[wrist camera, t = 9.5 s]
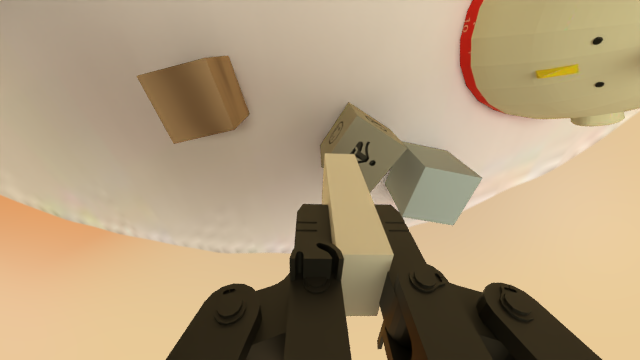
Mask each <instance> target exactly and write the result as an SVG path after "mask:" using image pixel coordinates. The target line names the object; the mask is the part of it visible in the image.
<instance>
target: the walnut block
mask: <svg viewBox="0 0 640 360" xmlns="http://www.w3.org/2000/svg"><path fill="white" fill-rule="evenodd" d="M137 78H138V80H139V81H140V83H141V85H142V87H143V89H144V91H145V92H146V94H147V96H148V98H149V100H150V101H151V103H152V105H153V107H154V109H155V111H156V112H157V114H158V116H159V118H160V120H161V121H162V123H163V125H164V127H165V129H166V130H167V132H168V134H169V136H170V138H171V140H172V141H173V143H174V144H175V143H179V142H184V141H188V140H192V139H197V138H201V137H205V136H210V135H214V134H218V133H222V132H227V131H231V130H235V129H236V128H237V126H238V125H239V124H240V123H241V122H242V121H243V120H244V119H245V118H246V117H247V116H248V115H249V111H248V108H247V106H246V103H245V100H244V97H243V95H242V92H241V89H240V86H239V84H238V81H237V78H236V75H235V73H234V70H233V67H232V64H231V62H230V59H229V56H220V57H209V58H203V59H199V60H195V61H191V62H188V63H184V64H180V65H176V66H172V67H169V68H165V69H161V70H157V71H153V72H150V73H146V74H142V75H138V76H137Z"/></svg>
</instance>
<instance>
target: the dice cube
mask: <svg viewBox="0 0 640 360" xmlns="http://www.w3.org/2000/svg"><path fill="white" fill-rule="evenodd" d="M406 149H407V147H406V146H405V145H404V144H403V143H402V142H401V141H400V140H399V139H398V138H397V136H396V135H395V134H394V133H393V132H392V131H391V130H390V129H388V128H387V127H385V126H384V125H382V124H381V123H379V122H378V121H376V120H375V119H373V118H372V117H370V116H369V115H367V114H366V113H364V112H363V111H361V110H360V109H358V108H357V107H355V106H354V105H352V104H351V103H349V102H348V104H347V105H346V107H345V109H344V110H343V112H342V113H341V115H340V116H339V118H338V119H337V121H336V122H335V124H334V125H333V127H332V128H331V130H330V131H329V133H328V134H327V136H326V137H325V139H324V141H323V142H322V144H321V145H320V151H321V167H322V168H324V156H325V153H331V154H355V157H356V159H357V162H358V164H359V167H360V170H361V172H362V175H363V177H364V180H365V182H366V185H367V188H368V190H369V193H370V192H371V191H372V190H373V189H374V187H375V186H376V185H377V184H378V183H379V181H380V180H381V179H382V178H383V177H384V175H385V174H386V173H387V172H388V171H389V170H390V168H391V167H392V166H393V165H394V164H395V162H396V161H397V160H398V159H399V158H400V156H401V155H402V154H403V153H404V152H405V151H406Z"/></svg>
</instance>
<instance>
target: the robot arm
mask: <svg viewBox="0 0 640 360" xmlns="http://www.w3.org/2000/svg"><path fill="white" fill-rule="evenodd" d="M379 307H380V308H381V312H382V315H383V319H384V321H383V324H382V327H381V331H380V334H379V337H378V340H377V342H378V343H377V344H378V349H381V348H382V345H383V342H384V346H385V350H386V355H387V358H388V360H602V359H601V358H600V357H599V356H597V355H596V354H595V353H594V352H593V351H592V350H591V349H590V348H589V347H587V346H586V345H585V344H584V343H583V342H582V341H581V340H580V339H578V338H577V337H576V336H575V335H574V334H573V333H572V332H571V331H569V330H568V329H567V328H566V327H565V326H564V325H563V324H562V323H560V322H559V321H558V320H557V319H556V318H555V317H554V316H553V315H551V314H550V313H549V312H548V311H547V310H546V309H545V308H544V307H543V306H541V305H540V304H539V303H538V302H537V301H536V300H535V299H533V298H532V297H531V296H529V295H528V294H526V293H525V292H524V291H522V290H520V289H518V288H516V287H514V286H511V285H507V284H504V283H491V284H489V285H488V286H486V287H485V289H484V291H483V292H479V291H475V290H472V289H468V288H464V287H461V286H457V285H454V284H451V283H449V282H448V280H447V279H446V278H445V277H444V276H443V274H442V273H441V272H440V271H438V270H437V269H436V268H434V267H433V266H430V265H428V264H426V262H425V260H424V258H423V256H422V254H421V252H420V250H419V249H418V247H417V245H416V243H415V241H414V239H413V237H412V235H411V233H410V232H409V229H408V227H407V226H406V224H405V222H404V220H403V218H402V216H401V214H400V213H399V212H398V211H397V210H396V209H395V208H394V207H393V206H391V205H374V203H373V200H372V198H371V195H370V193H369V190H368V188H367V185H366V182H365V180H364V177H363V175H362V172H361V170H360V167H359V164H358V162H357V159H356V157H355V154H331V153H325V156H324V173H323V190H322V204H303V205H302V206H301V208H300V209H299V210H298V212H297V221H296V234H295V246H294V249H293V251H292V253H291V256H290V273H289V274H288V276H287V277H286V278H285V279H284V280H282V281H281V282H279V283H278V284H275V285H273V286H271V287H267V288H264V289H261V290H258V291H255V290H254V289H253V288H252V287H250V286H247V285H245V284H231V285H227V286H224V287H222V288H220V289H219V290H217V291H215V292H214V293H212V295H211V296H210V297H209V298H208V299H207V300H206V301H205V302H204V304H203V305H202V307H201V308H200V310H199V311H198V313H197V314H196V316H195V317H194V319H193V320H192V321H191V323H190V325H189V326H188V327H187V329H186V330H185V332H184V333H183V335H182V336H181V338H180V339H179V341H178V342H177V344H176V345H175V347H174V348H173V350H172V351H171V353H170V354H169V356H168V357H167V359H166V360H351V353H350V345H349V338H348V329H347V322H346V316H377V314H378V310H379Z"/></svg>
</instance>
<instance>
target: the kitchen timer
mask: <svg viewBox="0 0 640 360" xmlns="http://www.w3.org/2000/svg"><path fill="white" fill-rule="evenodd" d="M460 66H461V69H462V73H463V76H464V79H465V83H466V86H467V87H468V88H469V89H470V91H471V92H472V93H473V95H474V96H475V97H476V99H477V100H478V101H480V102H481V103H483V104H485V105H487V106H488V107H490V108H492V109H493V110H496V111H499V112H502V113H505V114H510V115H516V116H522V117H528V118H535V119H559V118H571V122H572V123H573V124H575V125H579V126H603V125H610V124H614V123H617V122H620V121H621V120H623V119H624V118H625V116H624V112H625V111H629V110H634V109H638V108H640V0H473V1H472V3H471V5H470V7H469V9H468V11H467V15H466V19H465V23H464V27H463V31H462V35H461V39H460Z"/></svg>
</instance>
